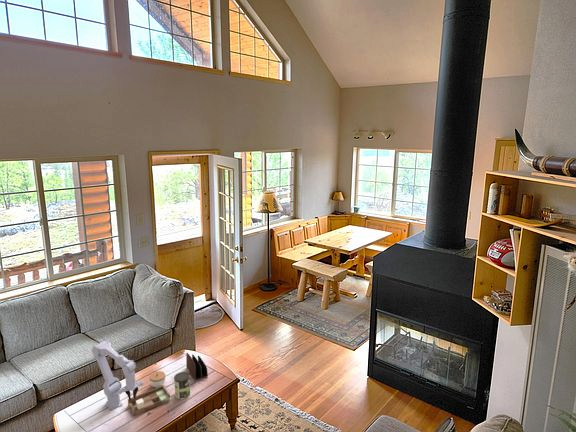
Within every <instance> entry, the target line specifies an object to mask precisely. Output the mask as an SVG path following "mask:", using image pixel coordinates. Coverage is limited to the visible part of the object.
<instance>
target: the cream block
mask: <svg viewBox="0 0 576 432" xmlns="http://www.w3.org/2000/svg"><path fill="white" fill-rule="evenodd" d="M135 405H136V407H137V409H141V408H143V407H144V401H143V399H142V398H141V399H139V400H136V403H135Z"/></svg>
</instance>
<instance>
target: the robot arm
mask: <svg viewBox="0 0 576 432" xmlns="http://www.w3.org/2000/svg"><path fill="white" fill-rule="evenodd" d="M91 353H92V355H93V358H94V359H96V361H97V364H98V367H99V369H100V371H101V375H102V376H103V378H104V384H103V385H102V387H103V393H104V396H106V401H105V403H106V406H107V408H108V410H109V411H111V410H114V409H116V408H119V407H122V406H123V402H122V401H121V396H120V395H121V394H123V393H125V394H126V395H127V398H128V399H129V400H130V401H131V398H133V397H134V399H135V398H136V396H137V394H138V392H139V387H141V386H144V382H143V380H140V381H137V382H136V373H135V370H136V368H137V364H136V362H135V361H134V360H133V359H128V358H127V357H125V356H124V355H123V354H119V353H118V352H117V351H116V350H115V349H114V348H113V347H112V344H111V342H110V341H109V340H107V339H104V340H103V341H101V342H100V343H98V344H96V345H94V346H92V348H91ZM106 355H108V357H111V358H112V359H113V360H114V362H115V363H116V365H117V366H118V367H120V368H121V370H122V372H123V374H124V378H125V380H124V381H125V386H123V385H122V382H121V380H119V378H118V377H116V376H115V377H114V374H113V371H112V370H111V368H110V365H109V362H108V359H107V358H106ZM122 386H123V387H122ZM131 392H132V393H131ZM131 394H132V397H131Z"/></svg>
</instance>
